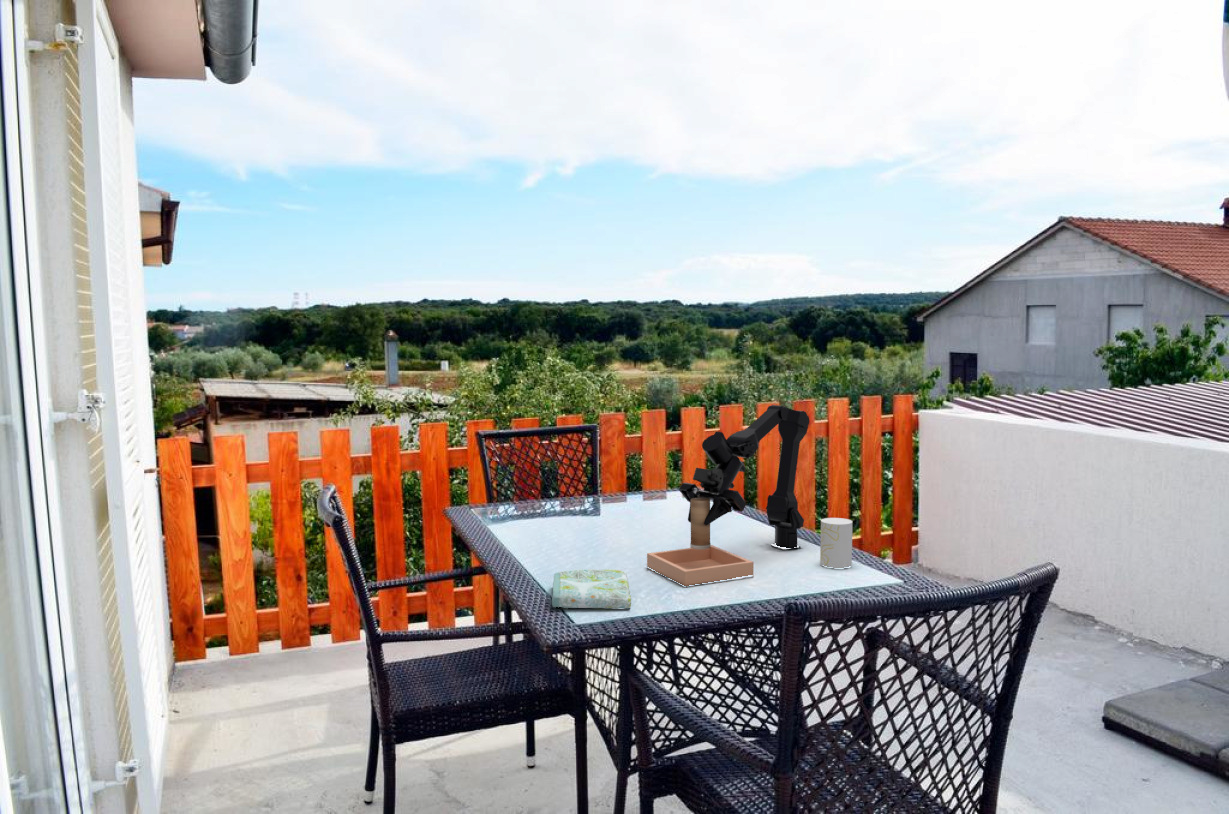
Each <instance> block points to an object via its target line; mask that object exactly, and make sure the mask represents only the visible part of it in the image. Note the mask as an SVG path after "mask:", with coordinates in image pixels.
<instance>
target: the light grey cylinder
mask: <svg viewBox="0 0 1229 814" xmlns="http://www.w3.org/2000/svg"><path fill="white" fill-rule="evenodd" d="M819 552H820V556H819V558H820V559H819V563H820V564H821V565H824V566H827V567H833V568H844V567H849V566H851V565H852V564H853V559H852V558H853V520H851V519H849V518H843V517H842V518H841V517H825V518H822V519H820V551H819ZM820 564H819V565H820ZM821 565H820V566H821Z"/></svg>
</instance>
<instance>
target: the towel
mask: <svg viewBox="0 0 1229 814" xmlns="http://www.w3.org/2000/svg"><path fill="white" fill-rule="evenodd" d="M629 585H630V584H629V578H628V574H627V573H626V572H625V571H622V570H619V569H609V568H608V569H595V568H594V569H593V568H588V569H587V568H585V569H583V568H582V569H573V570H563V571H560V572H555V573H554V575H553V582H552V597H551V598H552V599H551V605H552V607H553V608H556V607H558V608H559V607H564V608H563V609H568V608H630V609H631V606H632V598H631V597H632V596H631V591H630V586H629Z"/></svg>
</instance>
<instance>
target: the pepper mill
mask: <svg viewBox="0 0 1229 814" xmlns="http://www.w3.org/2000/svg"><path fill="white" fill-rule="evenodd" d="M710 509H711V500H710V499H708V498H692V499H691V522H690V545H689V546H690V547H689V548H692V549H696V550H705V549H709V548H711V545H712V544H711V523H710V524H708V525H707V526H706V525H705V524H704V521H705V519H706V517H707V515H708V513H709V511H710Z"/></svg>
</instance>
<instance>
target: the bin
mask: <svg viewBox="0 0 1229 814" xmlns="http://www.w3.org/2000/svg"><path fill="white" fill-rule="evenodd" d="M754 563H755V562H754V561H752V560H750V559H747V558H745V557H742V556H740V555H738V554H735V553H732V552H730V551H727V550H726V549H723V548H720V547H718V546H715V545H713V544H711V548H709V549H705V550H696V549H692V548H691V547H686V548H679V549H677V548H676V549H671V550H665V551H664V550H662V551H655V552H648V553H647V552H646V568H647V567H649V568H651V569H653V570H655V571H656V572H658V573H660V574H662V575H664V576H666V577H668V578H670V579H672V580H674V581H676V582H678V583H680V584H682V585H684V586H689V585H695V584H702V583H708V582H714V581H720V580H727V579H732V578H736V577H742V576H748V575H753V576H754V569H755V568H754Z"/></svg>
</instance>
